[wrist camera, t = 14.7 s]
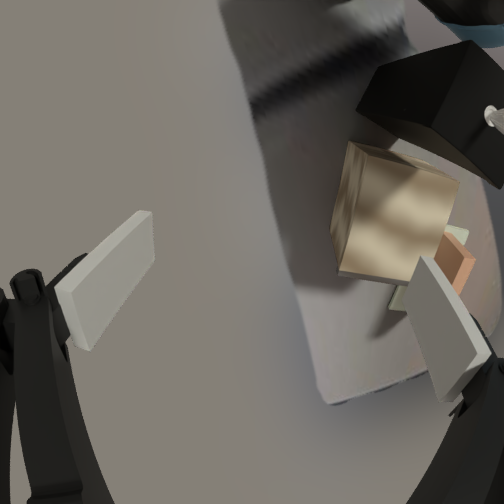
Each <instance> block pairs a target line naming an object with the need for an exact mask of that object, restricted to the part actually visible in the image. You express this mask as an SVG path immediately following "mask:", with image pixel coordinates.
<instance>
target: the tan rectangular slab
mask: <svg viewBox="0 0 504 504" xmlns="http://www.w3.org/2000/svg"><path fill="white" fill-rule="evenodd" d="M434 260H435V262H436V263H437V265H438V266H439V268H440V269H441V270H442V272H443V273H444V275H445V276H446V278H447V279H448V281H449V282H450V284H451V285H452V287H453V288H454V290H455V291H456V293H457V295H458V296H459V294H460V292H461V290H462V288H463V286H464V284H465V282H466V280H467V278H468V276H469V274H470V272H471V270H472V267H473V265H474V263H475V261H476V259H475V258H474V257H473V256H472V255H471V254H470V253H469V251H468V250H467V249H466V248H465V247H464V246H463V245H462V244H461V243H460V242H459V241H458V240H457V238H456V237H455V236H454V235H453V234H452V233H449V232H446V231H444V233H443V236H442V238H441V241H440V244H439V246H438V249H437V252H436V254H435V257H434Z"/></svg>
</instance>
